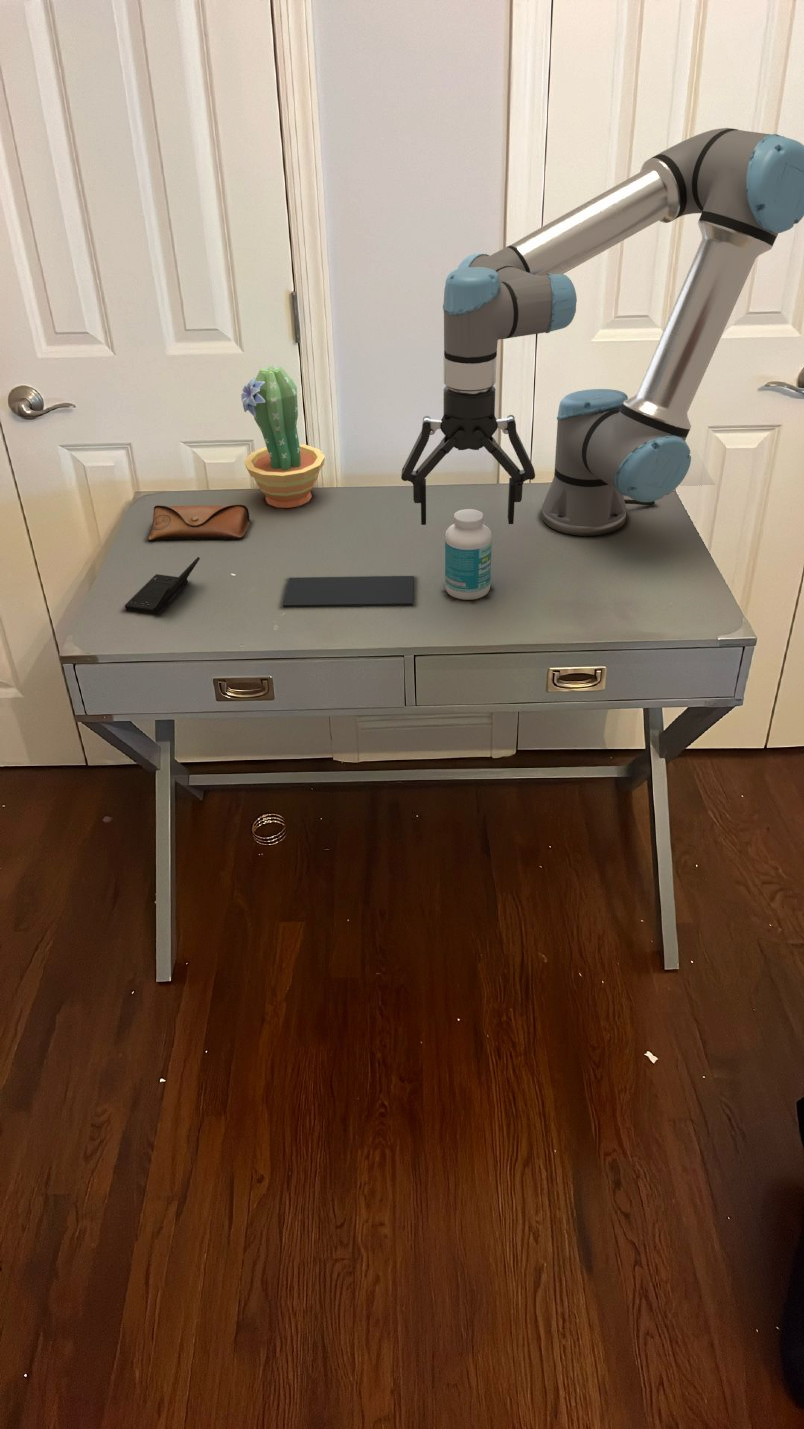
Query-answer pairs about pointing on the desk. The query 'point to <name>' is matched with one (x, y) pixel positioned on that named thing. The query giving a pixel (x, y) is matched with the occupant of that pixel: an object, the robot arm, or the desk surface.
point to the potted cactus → (280, 441)
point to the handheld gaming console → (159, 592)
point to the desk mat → (349, 591)
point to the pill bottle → (468, 556)
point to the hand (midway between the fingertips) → (467, 521)
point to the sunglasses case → (199, 522)
